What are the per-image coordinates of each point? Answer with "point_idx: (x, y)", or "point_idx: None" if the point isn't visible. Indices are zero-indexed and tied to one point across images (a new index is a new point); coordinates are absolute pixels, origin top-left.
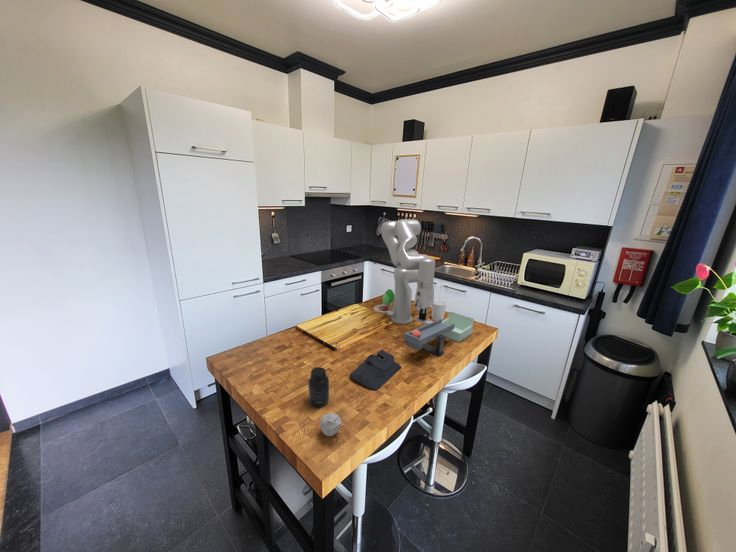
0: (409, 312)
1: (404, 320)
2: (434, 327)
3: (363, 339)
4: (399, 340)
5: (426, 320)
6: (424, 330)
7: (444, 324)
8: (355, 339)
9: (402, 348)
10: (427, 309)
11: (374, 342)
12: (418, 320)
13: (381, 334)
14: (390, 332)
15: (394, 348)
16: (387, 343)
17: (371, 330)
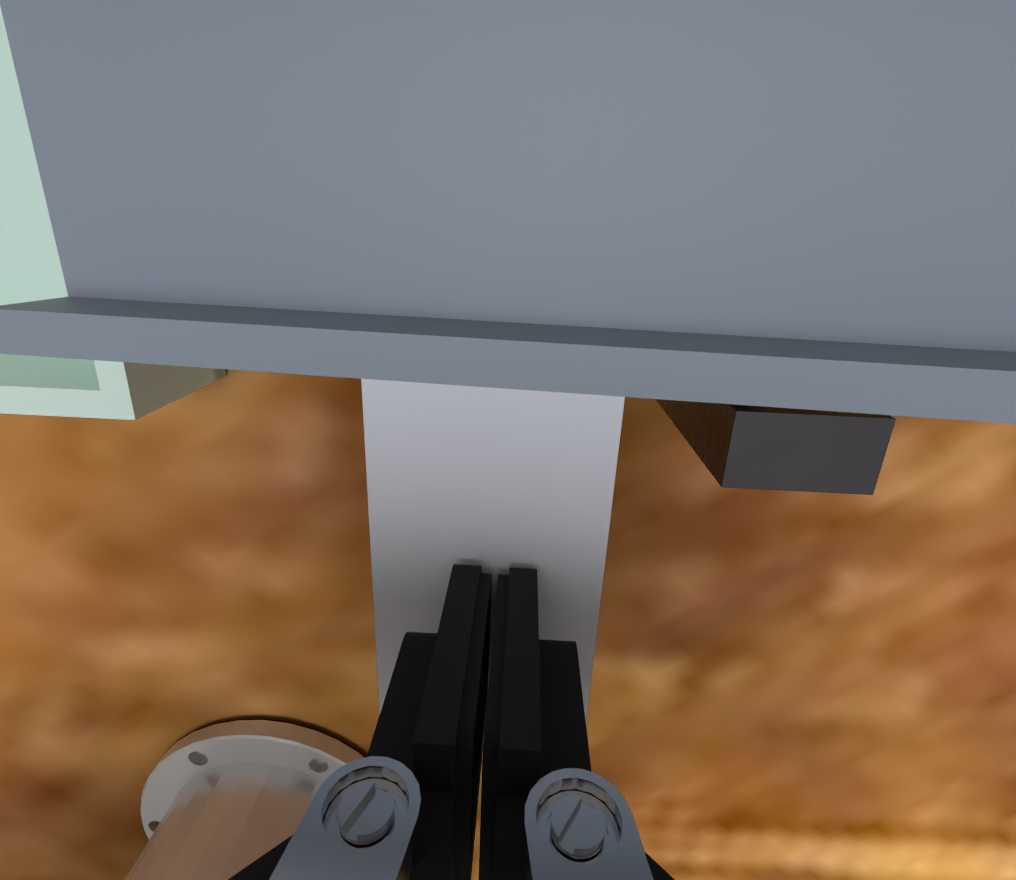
0: (185, 870)
1: (312, 787)
2: (491, 254)
3: (937, 826)
4: (730, 591)
5: (449, 540)
6: (897, 326)
7: (89, 180)
8: (979, 866)
9: (894, 469)
10: (289, 864)
11: (936, 736)
12: (591, 663)
13: (730, 775)
14: (626, 741)
15: (947, 534)
16: (879, 642)
17: (718, 867)
